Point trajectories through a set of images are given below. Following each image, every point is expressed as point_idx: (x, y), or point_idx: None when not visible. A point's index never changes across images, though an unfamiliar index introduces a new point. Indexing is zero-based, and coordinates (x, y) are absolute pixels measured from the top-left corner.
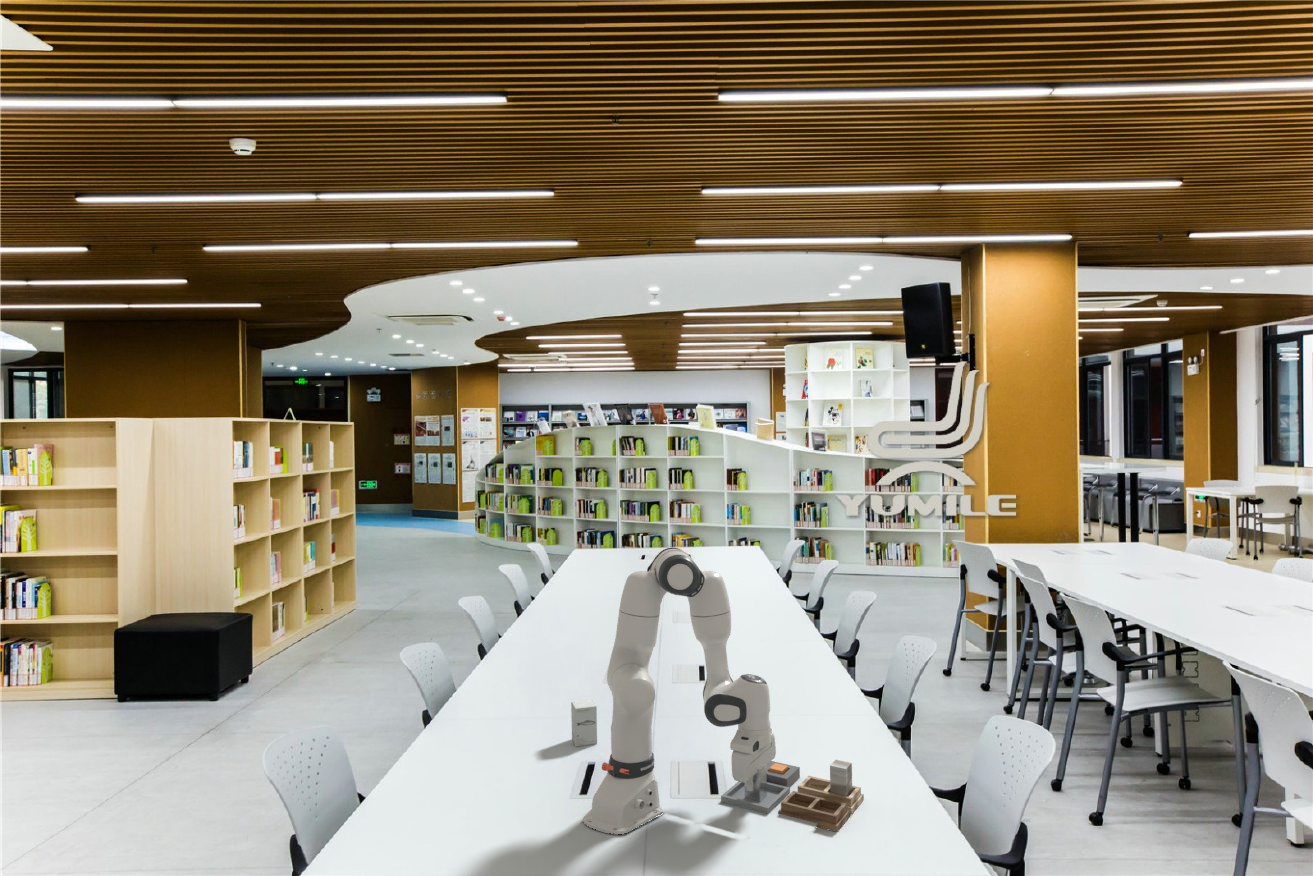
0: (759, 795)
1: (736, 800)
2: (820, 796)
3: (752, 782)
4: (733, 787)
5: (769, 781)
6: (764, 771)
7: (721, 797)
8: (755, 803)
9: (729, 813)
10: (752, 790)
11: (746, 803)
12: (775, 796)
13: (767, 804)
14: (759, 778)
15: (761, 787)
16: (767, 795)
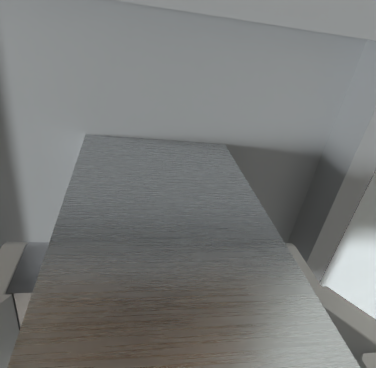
0: (240, 171)
1: (325, 269)
2: None
3: (343, 312)
4: None
5: None
6: (111, 361)
7: None
8: (364, 151)
9: (346, 241)
10: (291, 245)
11: (352, 207)
12: (53, 55)
13: (241, 74)
14: (316, 303)
15: (211, 202)
16: (77, 131)
